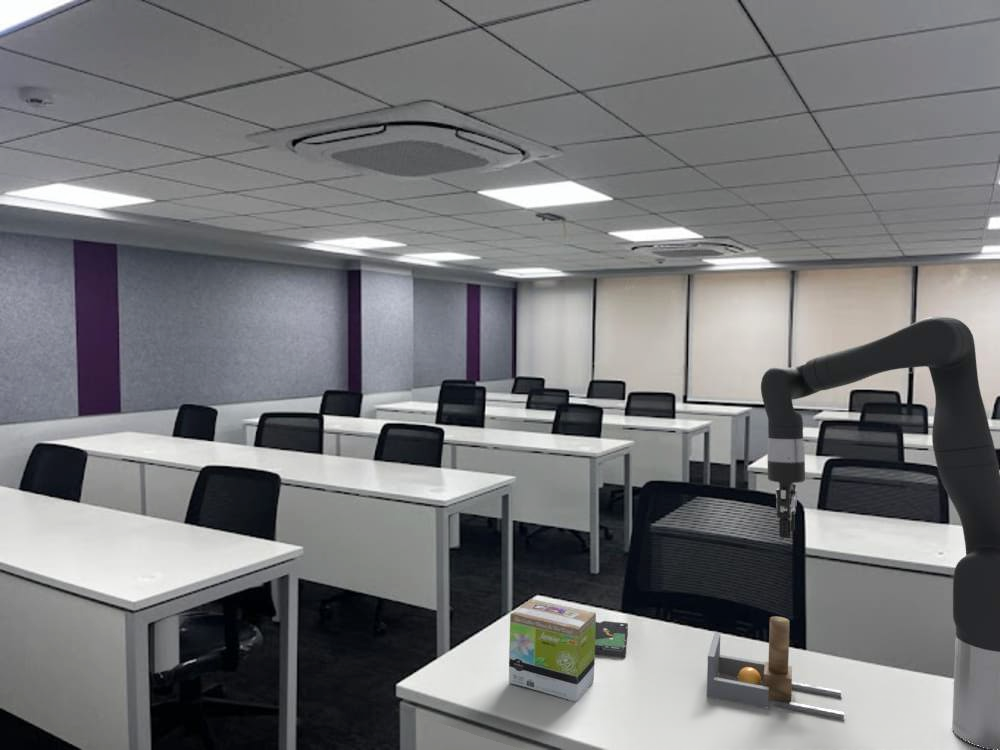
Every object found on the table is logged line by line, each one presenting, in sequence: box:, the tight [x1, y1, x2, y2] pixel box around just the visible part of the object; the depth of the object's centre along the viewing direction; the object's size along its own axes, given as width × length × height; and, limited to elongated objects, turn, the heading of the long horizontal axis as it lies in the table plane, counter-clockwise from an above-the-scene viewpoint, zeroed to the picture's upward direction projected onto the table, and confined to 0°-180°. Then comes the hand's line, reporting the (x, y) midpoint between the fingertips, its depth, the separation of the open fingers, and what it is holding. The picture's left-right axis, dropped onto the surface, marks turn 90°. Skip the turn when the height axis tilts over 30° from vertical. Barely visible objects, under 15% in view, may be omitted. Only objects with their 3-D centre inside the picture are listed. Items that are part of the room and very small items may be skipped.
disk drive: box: [595, 620, 629, 659], centre depth 162 cm, size 10×3×15 cm
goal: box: [706, 632, 769, 709], centre depth 141 cm, size 11×12×8 cm
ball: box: [737, 667, 762, 686], centre depth 140 cm, size 4×4×4 cm
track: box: [773, 681, 845, 720], centre depth 136 cm, size 12×10×1 cm
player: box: [763, 616, 793, 702], centre depth 138 cm, size 5×6×15 cm
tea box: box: [508, 598, 597, 703], centre depth 141 cm, size 15×10×15 cm, turn 62°
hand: (787, 534), depth 152 cm, fingers open, 8 cm apart
